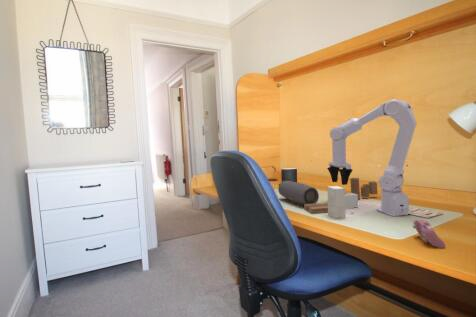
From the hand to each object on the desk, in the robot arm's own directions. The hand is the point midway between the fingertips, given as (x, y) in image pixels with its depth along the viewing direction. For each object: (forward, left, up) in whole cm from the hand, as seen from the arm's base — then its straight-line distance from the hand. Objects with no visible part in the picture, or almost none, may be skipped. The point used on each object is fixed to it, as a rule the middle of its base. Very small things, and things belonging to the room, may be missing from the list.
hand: (339, 183), depth 123 cm
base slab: (-8, +12, -10) cm, 17 cm away
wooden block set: (+9, -15, -10) cm, 20 cm away
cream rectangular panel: (-15, +4, -10) cm, 18 cm away
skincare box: (-18, +12, -10) cm, 23 cm away
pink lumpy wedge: (-48, 0, -10) cm, 49 cm away
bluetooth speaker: (+9, +17, -10) cm, 22 cm away
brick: (-6, 0, -10) cm, 12 cm away
